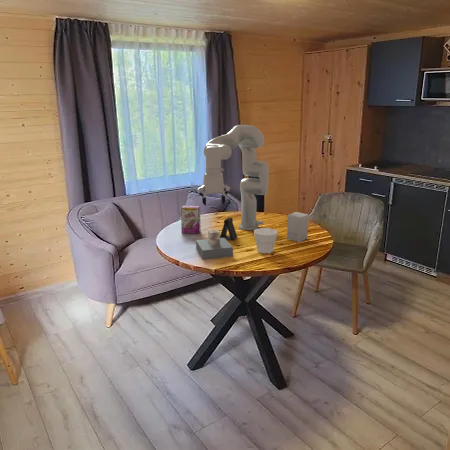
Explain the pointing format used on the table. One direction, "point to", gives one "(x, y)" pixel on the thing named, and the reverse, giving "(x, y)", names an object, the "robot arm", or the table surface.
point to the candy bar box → (190, 219)
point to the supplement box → (297, 226)
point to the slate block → (214, 249)
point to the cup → (265, 239)
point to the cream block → (213, 237)
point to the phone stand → (230, 227)
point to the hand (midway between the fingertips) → (213, 204)
